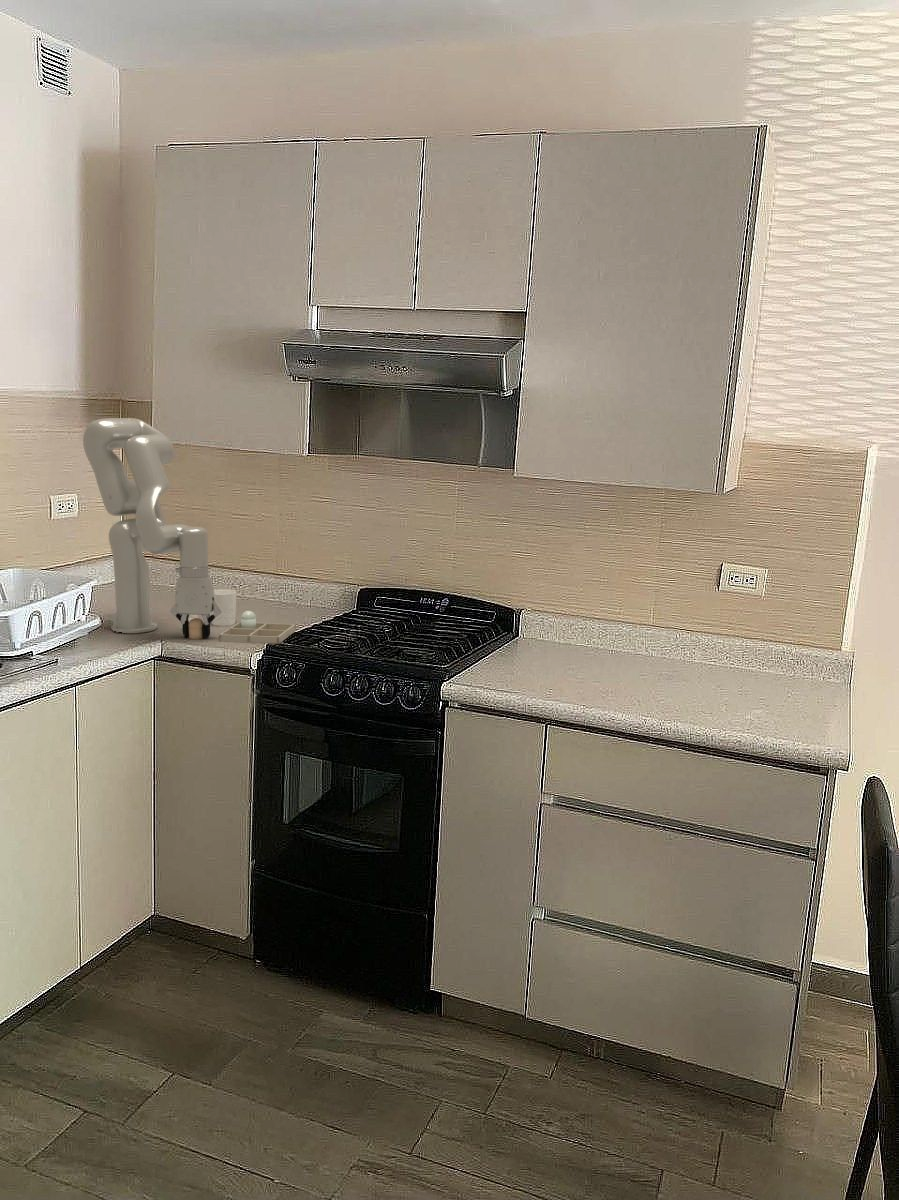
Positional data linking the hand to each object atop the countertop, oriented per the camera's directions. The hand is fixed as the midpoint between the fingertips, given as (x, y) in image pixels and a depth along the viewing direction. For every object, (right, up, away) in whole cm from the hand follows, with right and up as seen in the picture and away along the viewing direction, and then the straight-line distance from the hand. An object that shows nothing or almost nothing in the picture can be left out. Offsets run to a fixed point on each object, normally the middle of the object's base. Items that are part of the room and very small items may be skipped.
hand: (196, 637), depth 291 cm
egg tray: (+17, 0, +3) cm, 17 cm away
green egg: (+13, +1, +7) cm, 15 cm away
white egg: (-5, +2, +12) cm, 13 cm away
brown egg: (0, -1, 0) cm, 1 cm away
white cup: (+3, +3, +19) cm, 19 cm away
